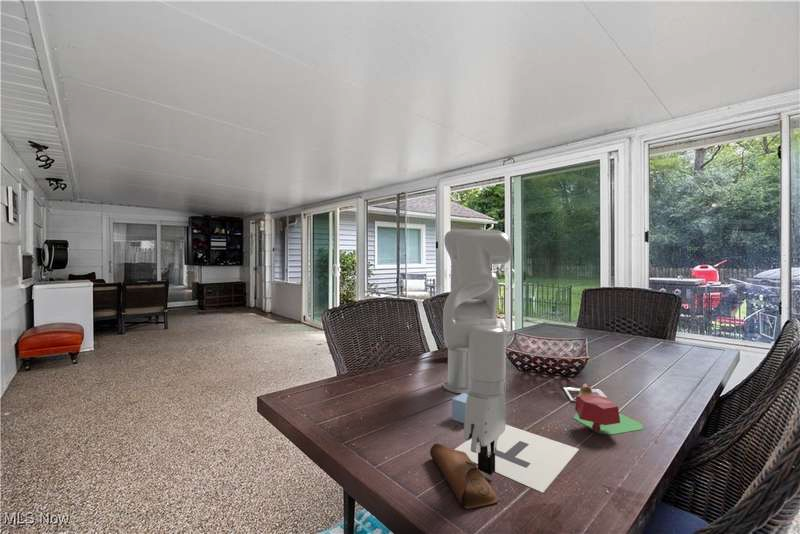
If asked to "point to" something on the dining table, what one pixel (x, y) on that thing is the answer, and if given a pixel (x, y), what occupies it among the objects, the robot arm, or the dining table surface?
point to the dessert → (583, 391)
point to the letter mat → (527, 457)
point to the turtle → (603, 415)
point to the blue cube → (459, 407)
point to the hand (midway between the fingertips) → (486, 470)
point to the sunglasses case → (463, 477)
